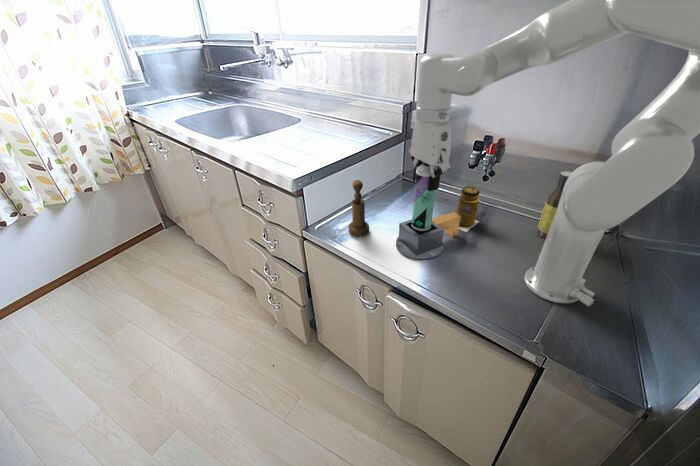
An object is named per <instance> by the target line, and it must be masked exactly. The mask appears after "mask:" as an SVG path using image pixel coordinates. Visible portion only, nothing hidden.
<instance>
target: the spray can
mask: <svg viewBox="0 0 700 466" xmlns="http://www.w3.org/2000/svg"><path fill="white" fill-rule="evenodd" d="M436 170H437V166H436V167H435V171H436ZM429 176H431V171H430V165H429V164H427V163H425V162H424V163H422V165H420V166H418V167H417V170H416V178H415V182H414V193H413V202H412V203H413V205H412V215H411V216H412V218H411V219H412V227H413V228H414V229H416V230H419V231H426V230H429V229H430V228H431V223H432V219H433V213H434V208H435V207H434V204H435V198H436V197H435V196H436V190H433V191H428V181H429Z"/></svg>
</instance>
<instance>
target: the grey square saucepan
mask: <svg viewBox="0 0 700 466" xmlns="http://www.w3.org/2000/svg"><path fill="white" fill-rule="evenodd" d="M460 218H461V216H460V215H458V214H457V212H455V211H452V212H450V213H446V214H442V215H440V216H437V217H435V218H434V217H433V218H432V223H431V228H430V229H429V230H426V231H419V230H416V229H414V228H413V227H412V218H411V219H409V220H406V221H403V222H400V223H398V224H399V226H398V236H397V238H396V241H395V247H396V251H398V252H399V254H400V255H402V256H403V257H406V258H407V259H411V260H415V261H431V260H434V259H436V258H439V257H440V256H441V255H442V254H443V252H444V248H445V247H444V246H445V244H444V241H443V239H444V232H445V233H446V234H448V235H449V236H450V237H451V238H453V237H456V236H458V233H459V230H460V229H459V223H460Z"/></svg>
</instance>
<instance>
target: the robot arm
mask: <svg viewBox="0 0 700 466" xmlns="http://www.w3.org/2000/svg"><path fill="white" fill-rule="evenodd" d="M628 33H631V34H633V35H636V36H639V37H642V38H645V39H648V40H652V41H655V42H659V43H662V44H666V45H669V46H671V47H676V48H679V49H683V50H686V51H688V55H687V58H686V61H685V63H684V65H683V66H682V68H681V69H680V71H679V73H678V74H677V75H676V76H675V77H674V78H673V79H672V80H671V82H670V83H669V84H668V85H667V86H666V87H665V88H664V89H663V90H662V91H661V92H659V94H658V95H657V96H656V97H655V98H654V99H653V100H652V101H650V102H649V104H648V105H647V106H646V107H644V108H643V109H642V111H640V112H639V113H638V114H637V115H636V116H635V117H634V118H632V119H631V120H630V121H629V122H628V123H627V124H626V125H625V126H624V127H622V128H621V129H620V131H618V133H617V134H616V135H615V136H614V138H613V140H612V143H611V156H610V157H608V159H607V160H606V161H605V162H603V161H592V162H591V161H590V162H587V163H585V164H582V165H580V166H579V167H577V168H576V169H574V170H573V171H571V172H572V173H571V174H570V176H569V177H568V179H567V181H566V183H565V186H564V189H563V192H562V195H561V198H560V201H559V205H558V208H557V210H556V213H555V216H554V219H553V222H552V224H551V227H550V229H549V232H548V234H547V237H546V238H545V240H544V243H543V245H542V248H541V250H540V253H539V256H538V259H537V262H536V265H535V266H533V267H530V268H529V269H527V271H525V274H524V284H526V287H528V289H529V290H530V291H531V292H532V293H534V294H535V295H537V296H538V297H539V298H542V299H544V300H547V301H549V302H553V303H556V304H557V303H558V304H573V303H576V302H578V301H579V302H581V303H583V304H584V305H585V306H587V307H590V306H592V304H594V302H595V299H593V297H594V296H595V292H593V291H592V290H589V289H588V288H586V286H585V283H586V281H587V280H586V279H585V278H583V276H584V274H585V272H586V270H587V268H588V266H589V263H591V259H592V257H593V256H594V253H595V252H596V249H597V247H598V245H599V244H600V243H601V240H602V238H603V236H604V234H605V232H606V231H607V230H609V229H611V228H615V227H616V226H618V225H620V224H621V223H623V222H625V221H626V220H628V219H629V218H630V217H631V216H633V215H635V214H636V213H638V212H639V211H640V210H642V209H643V208H644V207H646V206H647V205H648V204H650V203H651V202H652V201H654V200H655V199H657V198H658V197H659V196H660V195H662V194H663V193H665V192H666V191H668V189H670V188H672V187H673V186H674V185H675V184H676V183H677V182H679V180H681V178H683V176H685V174H686V173H687V171H688V170H689V169H690V168H691V165H692V163H693V162H694V158H695V146H694V143H693V139H694V138H695V137H697V136H698V135H699V134H700V0H567V1H566V2H564V3H562V4H560V5H557V6H555V7H553V8H552V9H550V10H548V11H546V12H543V14H541V15H539V16H538V17H536V18H535V19H534V20H533V21H531V22H530V23H529V24H527V25H526V26H524V27H522V28H520V29H519V30H517V31H515V32H514V33H511V34H510V35H508V36H506V37H503V38H502V39H500V40H497V41H496V42H494V43H492V44H490V45H488V46H486V47H484V48H482V49H479V50H478V51H474V52H472V53H470V54H466V55H463V56H462V55H461V56H454V55H453V54H451V53H431V54H426V55H424V56H422V58H421V60H420V63H419V71H418V72H419V73H418V85H417V87H418V88H417V100H416V101H417V102H416V112H415V113H416V115H415V120H414V124H413V127H412V128H413V130H412V135H411V143H410V144H411V146H410V147H409V148H408V152H409V154H410V158H411V160H412V167H413V173H412V174H413V175H412V176H413V177H412V182H413V183H415V178H416V170H417V167H418V166H420V165H422V163H424V162H425V163H427V164H429V165H430V171H431V176H429V181H428V191H433V190H435V191H436V190H438V189H439V188H440V183H441V181H440V180H441V177H442V176H443V174H445V173H446V172H447V171H448V170H450V169H451V164H450V157H451V149H452V125H451V122H449V121H450V119H451V114H450V113H451V106H452V105H451V104H452V98H453V97H452V96H453V95H457V96H462V97H471V96H475V95H477V94H478V93H480V92H482V90H484V89H485V88H487V87H488V86H489V85H492V84H494V83H496V82H498V81H501V80H503V79H506V78H508V77H510V76H513V75H515V74H517V73H520V72H523V71H526V70H529V69H531V68H535V67H541V66H542V67H543V66H548V65H549V66H550V65H552V64H555V63H558V62H561V61H563V60H565V59H568V58H570V57H572V56H575V55H578V54H580V53H583V52H585V51H587V50H589V49H591V48H595V47H597V46H599V45H602V44H604V43H607V42H609V41H612V40H615V39H616V38H619V37H621V36H623V35H625V34H628ZM435 167H437V170H436V171H435Z"/></svg>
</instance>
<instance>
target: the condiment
mask: <svg viewBox="0 0 700 466" xmlns="http://www.w3.org/2000/svg"><path fill="white" fill-rule="evenodd" d="M480 192H481V191H480V189H479V188H477V187H475V186H465V187H462V189H461V193H460V195H459V197H458V203H457V208H456V213H457V214H458V215H460V216H461V218H460V223H459V229H458V230H461V231H462V232H465V233H467V232H469V231H470V230H471V229H472V228H473V227H475V226H476V225H477V224H478V223H480V221H479V220H477V219H476V216H477V213H478V208H479V207H478V206H479V203H480Z"/></svg>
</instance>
